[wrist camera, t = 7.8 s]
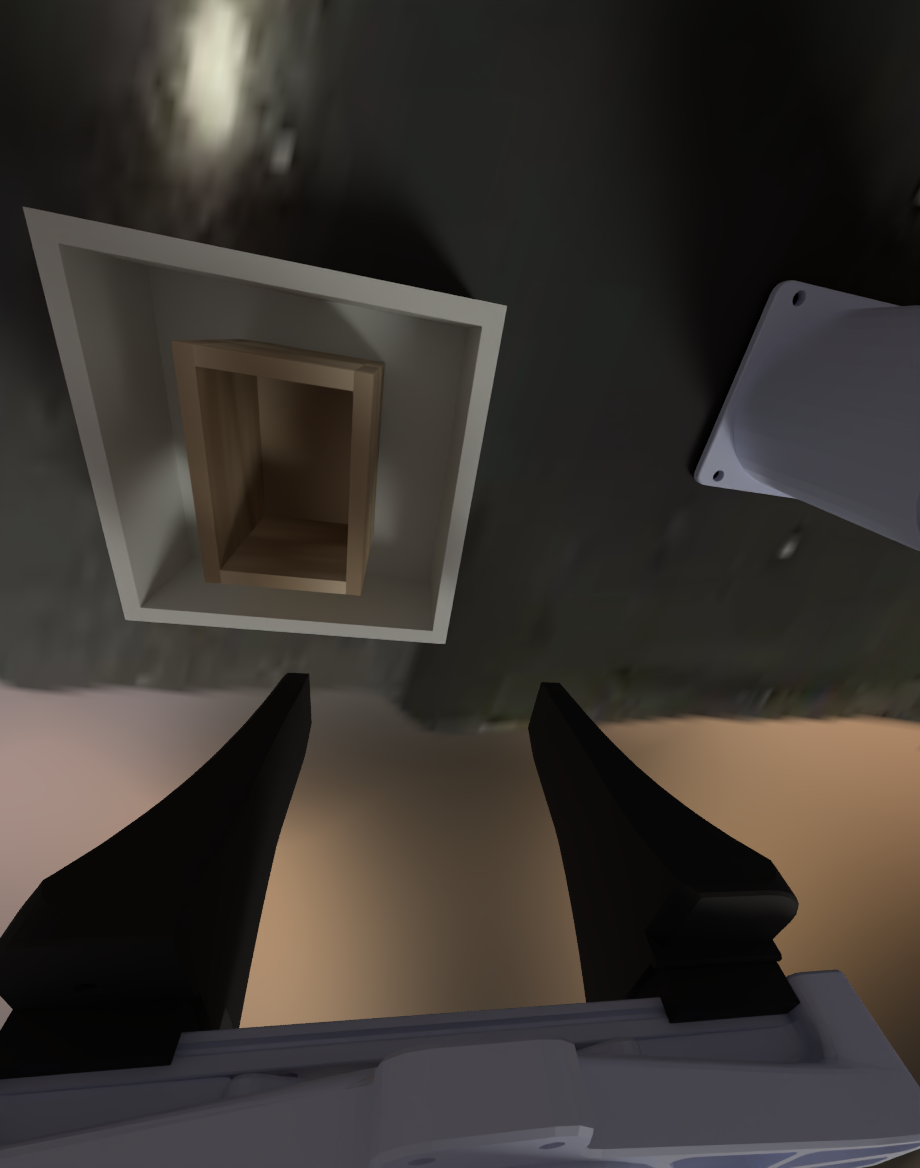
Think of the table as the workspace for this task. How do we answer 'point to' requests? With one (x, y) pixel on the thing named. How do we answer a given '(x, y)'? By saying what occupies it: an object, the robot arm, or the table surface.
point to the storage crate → (285, 317)
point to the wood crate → (281, 461)
